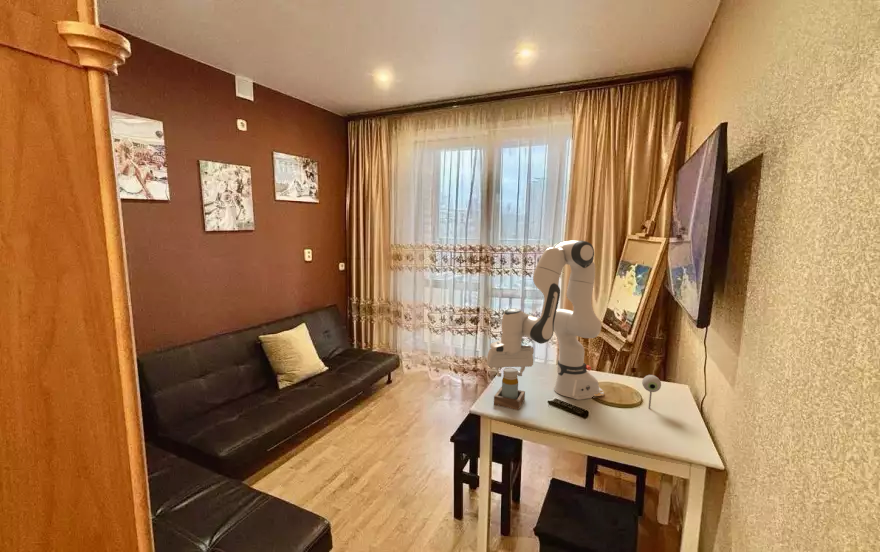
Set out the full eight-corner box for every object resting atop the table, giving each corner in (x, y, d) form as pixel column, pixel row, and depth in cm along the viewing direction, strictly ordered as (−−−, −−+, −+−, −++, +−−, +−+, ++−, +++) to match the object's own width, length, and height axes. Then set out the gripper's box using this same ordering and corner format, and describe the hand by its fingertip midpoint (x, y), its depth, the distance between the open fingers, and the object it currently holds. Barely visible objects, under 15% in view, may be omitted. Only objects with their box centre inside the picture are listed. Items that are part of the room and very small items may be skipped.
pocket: (501, 394, 177) (501, 386, 177) (524, 399, 173) (524, 391, 172) (493, 404, 168) (494, 396, 167) (518, 410, 163) (518, 401, 162)
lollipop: (641, 410, 163) (644, 377, 161) (639, 403, 170) (642, 371, 168) (659, 413, 161) (663, 380, 159) (657, 406, 167) (660, 373, 165)
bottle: (520, 402, 170) (521, 370, 168) (511, 407, 165) (513, 374, 163) (507, 397, 175) (508, 366, 173) (498, 402, 170) (499, 370, 168)
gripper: (531, 343, 171) (529, 372, 172) (486, 343, 168) (485, 373, 170) (536, 347, 164) (534, 378, 166) (490, 348, 162) (488, 379, 164)
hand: (509, 375), depth 168 cm, fingers open, 8 cm apart
